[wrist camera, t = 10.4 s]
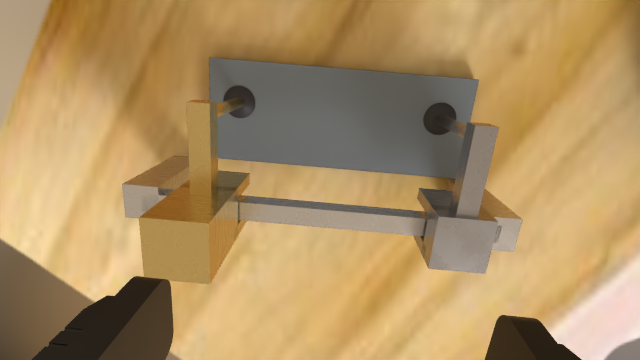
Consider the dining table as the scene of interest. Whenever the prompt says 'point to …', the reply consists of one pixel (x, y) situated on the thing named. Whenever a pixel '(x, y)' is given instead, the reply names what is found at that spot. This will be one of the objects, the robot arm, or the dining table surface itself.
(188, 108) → the slide head
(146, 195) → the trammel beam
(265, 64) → the flange plate
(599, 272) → the dining table surface
